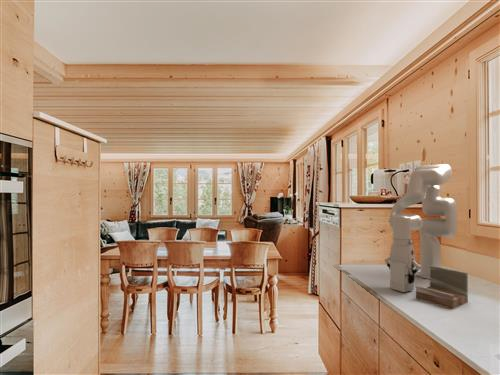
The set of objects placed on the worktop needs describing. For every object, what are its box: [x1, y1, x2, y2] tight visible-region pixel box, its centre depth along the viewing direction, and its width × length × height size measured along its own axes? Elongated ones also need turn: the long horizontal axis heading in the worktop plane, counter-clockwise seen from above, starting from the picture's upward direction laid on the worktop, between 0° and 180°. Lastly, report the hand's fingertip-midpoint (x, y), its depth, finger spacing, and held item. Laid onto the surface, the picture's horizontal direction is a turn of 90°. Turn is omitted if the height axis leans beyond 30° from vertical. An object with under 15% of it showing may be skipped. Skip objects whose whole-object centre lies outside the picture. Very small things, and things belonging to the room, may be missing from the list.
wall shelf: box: [415, 266, 469, 309], centre depth 128 cm, size 14×14×12 cm
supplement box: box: [389, 261, 415, 293], centre depth 140 cm, size 7×7×13 cm
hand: (402, 280), depth 140 cm, fingers closed on supplement box, 7 cm apart
